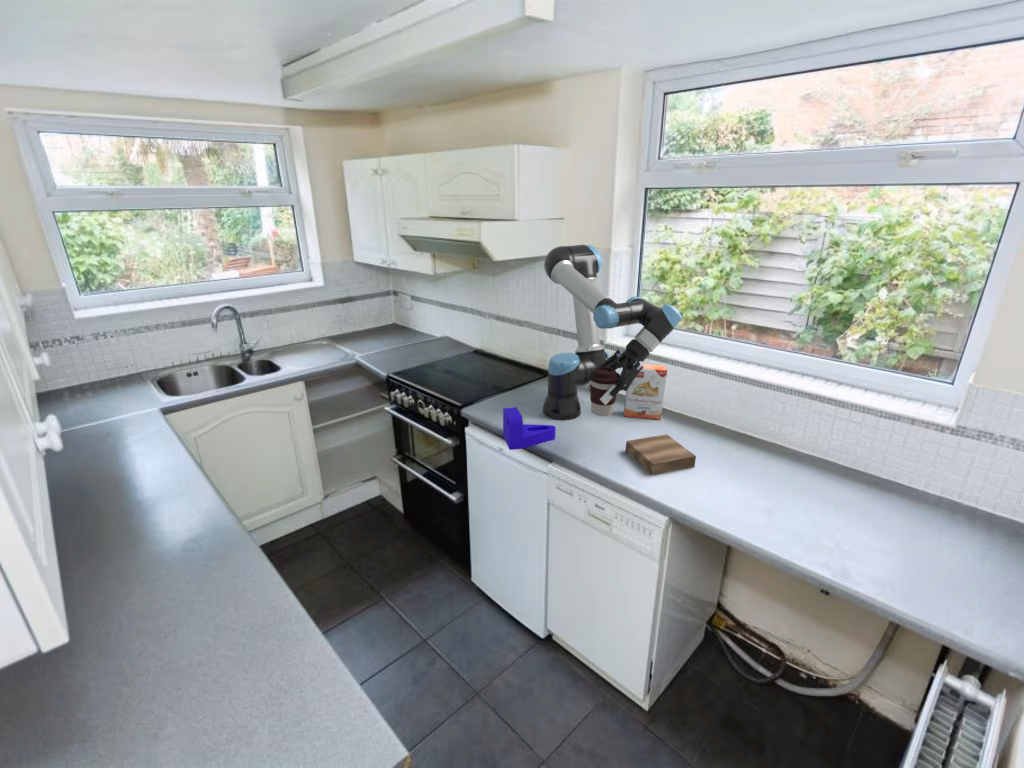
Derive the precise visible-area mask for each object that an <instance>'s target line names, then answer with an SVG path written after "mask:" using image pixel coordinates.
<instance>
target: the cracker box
mask: <svg viewBox="0 0 1024 768" xmlns="http://www.w3.org/2000/svg"><path fill="white" fill-rule="evenodd" d="M640 364H641V365H642V366H643V369H642V370H641V371H640V372H639V373H638V374H637V376H636V377H635V379H634V380H633V382H632V384H631V385H630V387H629V388H628V390H627V391H625V398H624V399H625V400H624V409H623V413H624V417H625V418H638V419H646V418H647V419H649V420H657V419H658V420H660V421H661V418H662V412H663V411H662V410H663V405H664V404H663V403H664V397H665V391H666V390H665V389H666V381H667V377H668V376H667V375H668V369H667V366H666V365H661V364H645V363H640Z"/></svg>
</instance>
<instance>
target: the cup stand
mask: <svg viewBox="0 0 1024 768" xmlns="http://www.w3.org/2000/svg"><path fill="white" fill-rule="evenodd" d="M625 452H626V453H627V454H628V455H629V456H630V457H631V458H632V459H634V460H635V462H637V463H638V464H639V465H640V466H641V467H642V468H643V469H644V470H645V471H646V472H647V473H649V474H650V475H651V476H654V475H659V474H664V473H670V472H674V471H681V470H686V469H690V468H695V465H696V461H697V460H696V458H697V455H695V454H694V453H693V452H692V451H690V450H689V449H688V448H686V447H684V446H683V445H682V444H681V443H679V442H678V441H676V439H674V438H673V437H671V436H670V435H669V434H667V433H666V434H661V435H654V436H649V437H648V436H647V437H642V438H636V439H631V440H630V439H629V440H626V442H625Z"/></svg>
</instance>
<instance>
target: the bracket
mask: <svg viewBox="0 0 1024 768" xmlns="http://www.w3.org/2000/svg"><path fill="white" fill-rule="evenodd" d="M556 429H557V428H556V426H555V425H551V424H530V423H529V424H528V423H527V424H526V423H524V421H523V416H522V414H521V412H520V411H519V409H518V406H513V407H504V408H503V409H502V436H503V438H504V439H503V440H504V441H505V442H506V446H507V447H508V449H509V451H510V450H511V451H512V450H513V451H514V450H520V449H521V450H522V449H526V448H529V447H532V446H537V445H540V443H541V444H543V442H544V443H547V441H548V442H551V441H554V440H555V439H556Z"/></svg>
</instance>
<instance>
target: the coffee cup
mask: <svg viewBox="0 0 1024 768" xmlns="http://www.w3.org/2000/svg"><path fill="white" fill-rule="evenodd" d="M620 374H621V373H619V372H617V369H616V370H615V369H613V368H610V367H598V368H596V369H595V370H594V371H592V372H590V375H589V379H590V380H591V384H590V392H589V395H590V399H589V400H590V412H591V413H592V414H594V415H595V416H599V417H608V416H611V415H612V414H613V413H614V407H615V403H616V401H617V394H618V393H617V394H616V396H615V397H613V398H612V399H611V400H610V401H609V402H608V403H607V404H606V405H605V404H604V403H603V402H602V401H601V400H600V398H601V397H602V396H603V395H604V394H605V393H606V392H607V391H608V390H609V389H610V388H611V387H612V386H613V385H615V383H617V381H618V379H619V377H620ZM615 386H616V385H615Z"/></svg>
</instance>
